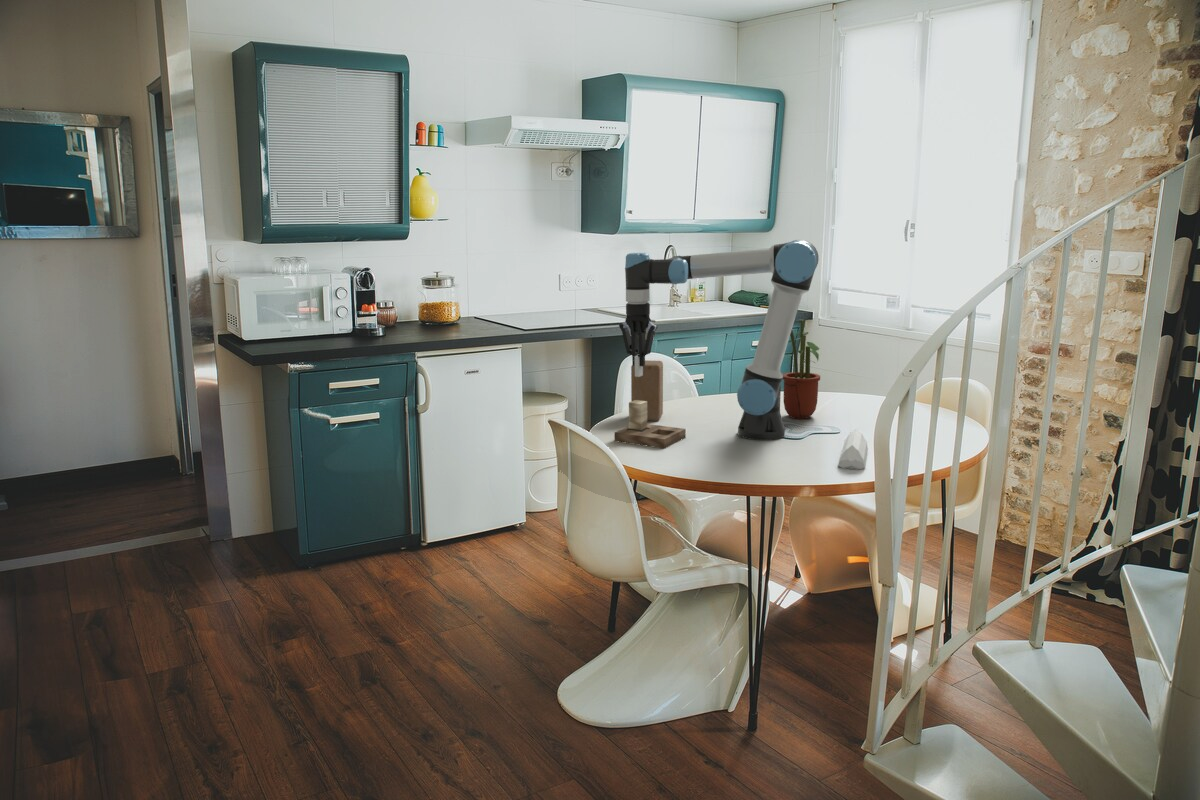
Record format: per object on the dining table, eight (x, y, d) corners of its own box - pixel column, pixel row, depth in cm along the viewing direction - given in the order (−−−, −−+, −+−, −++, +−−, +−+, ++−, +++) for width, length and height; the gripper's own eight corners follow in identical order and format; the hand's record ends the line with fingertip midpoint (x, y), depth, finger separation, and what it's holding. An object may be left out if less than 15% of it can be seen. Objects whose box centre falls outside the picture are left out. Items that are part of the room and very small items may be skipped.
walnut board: (685, 437, 303) (685, 428, 302) (664, 448, 290) (664, 439, 290) (636, 431, 312) (636, 422, 311) (614, 441, 299) (614, 432, 299)
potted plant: (816, 422, 321) (820, 321, 314) (771, 419, 326) (774, 320, 319) (821, 411, 337) (825, 315, 330) (778, 408, 342) (781, 313, 335)
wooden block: (659, 421, 325) (659, 365, 320) (630, 420, 326) (630, 364, 322) (663, 415, 334) (663, 360, 330) (635, 414, 336) (635, 359, 332)
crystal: (871, 459, 263) (875, 438, 285) (849, 445, 264) (854, 425, 286) (857, 480, 265) (861, 457, 288) (835, 466, 266) (841, 445, 289)
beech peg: (647, 437, 304) (647, 401, 301) (640, 440, 300) (640, 404, 298) (635, 435, 306) (635, 399, 304) (628, 438, 303) (628, 402, 300)
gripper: (661, 301, 294) (662, 375, 299) (625, 300, 300) (626, 372, 305) (650, 304, 287) (651, 379, 292) (613, 302, 294) (615, 376, 299)
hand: (638, 375), depth 299 cm, fingers closed
